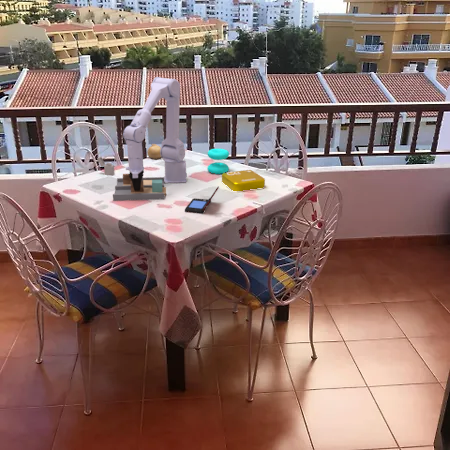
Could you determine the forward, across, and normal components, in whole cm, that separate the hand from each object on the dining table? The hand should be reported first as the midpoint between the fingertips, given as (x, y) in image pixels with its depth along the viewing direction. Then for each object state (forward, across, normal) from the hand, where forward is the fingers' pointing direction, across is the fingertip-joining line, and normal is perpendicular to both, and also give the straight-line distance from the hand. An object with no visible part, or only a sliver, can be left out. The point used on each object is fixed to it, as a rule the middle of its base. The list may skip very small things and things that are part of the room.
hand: (137, 189), depth 193 cm
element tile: (+3, -10, +44) cm, 46 cm away
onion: (+3, -52, +6) cm, 53 cm away
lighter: (+3, -28, -15) cm, 32 cm away
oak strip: (+2, 0, +4) cm, 5 cm away
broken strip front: (+2, -9, -3) cm, 10 cm away
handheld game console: (+3, +14, +25) cm, 29 cm away
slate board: (+3, -5, +1) cm, 5 cm away
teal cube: (+1, 0, +8) cm, 8 cm away
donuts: (+3, -29, +36) cm, 46 cm away
